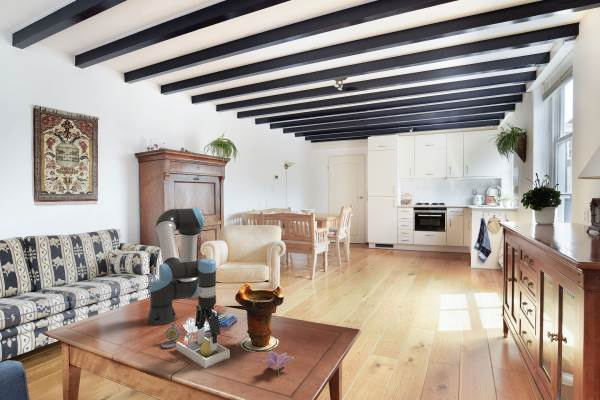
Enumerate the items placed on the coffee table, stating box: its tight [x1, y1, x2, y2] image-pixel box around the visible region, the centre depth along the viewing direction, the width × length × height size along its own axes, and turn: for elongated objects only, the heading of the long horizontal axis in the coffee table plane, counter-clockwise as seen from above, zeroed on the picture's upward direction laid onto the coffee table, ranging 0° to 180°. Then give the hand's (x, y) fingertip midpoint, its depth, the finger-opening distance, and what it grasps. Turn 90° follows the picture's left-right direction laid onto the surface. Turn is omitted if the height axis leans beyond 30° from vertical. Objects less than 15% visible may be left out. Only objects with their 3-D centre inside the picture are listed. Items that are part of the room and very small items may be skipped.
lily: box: [261, 350, 295, 378], centre depth 133 cm, size 12×12×10 cm
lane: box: [175, 337, 231, 369], centre depth 149 cm, size 24×12×4 cm, turn 48°
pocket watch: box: [161, 322, 181, 349], centre depth 157 cm, size 8×8×10 cm
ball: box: [200, 341, 214, 356], centre depth 146 cm, size 6×6×6 cm
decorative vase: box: [234, 282, 285, 353], centre depth 159 cm, size 21×23×28 cm
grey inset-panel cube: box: [205, 329, 211, 339], centre depth 163 cm, size 4×4×4 cm
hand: (207, 346), depth 146 cm, fingers open, 9 cm apart
